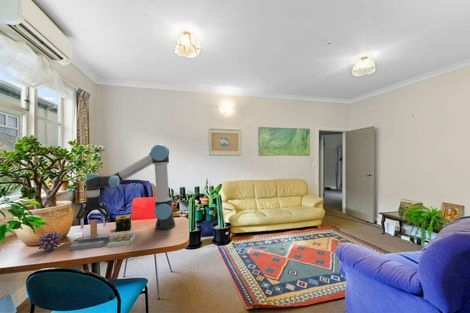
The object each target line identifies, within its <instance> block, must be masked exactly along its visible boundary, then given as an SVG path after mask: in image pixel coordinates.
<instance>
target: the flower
mask: <svg viewBox="0 0 470 313" xmlns="http://www.w3.org/2000/svg"><path fill="white" fill-rule="evenodd" d="M61 234H62V233H61V232H57V231H56V230H53V231H52V230H49V231H45V233H42V236H41V235H39V237H38V239H37V241H38V242H36V245H39V247H38V250H43V251H44V252H46V253H47V251H49V250H50V251H51V250H52V251H54V250H55V248H58V246H60V245H61V243H62V240H63V239H64V238H63V237H62V235H61Z"/></svg>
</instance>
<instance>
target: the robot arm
mask: <svg viewBox="0 0 470 313" xmlns="http://www.w3.org/2000/svg"><path fill="white" fill-rule="evenodd" d="M169 156H170V150H169V148H168V147H167V146H166V145H164V144H161V143H159V144H155V145H154V146H153V147H151V149H150V152H149V153H148V154H147V155H146V156H144V157H143V158H141V159H139V160H137V161H135V162H133V163H132V164H130V165H128V166H127V167H124V168H122V170H119V171H118V172H116V173H114V174H111V175H105V176H104V175H100V173H96V172H95V173H88V174H86V178H85V185H86V192H85V193H86V195H85V196H86V203H82V204H80V208H79V210H78V212H77V214H76V215H75V219H78V224H79V225H80V230H83V229H84V228H85V223H84V222H85V221H84V216H85V215H86V214H87V213H88V212H90V211H98V212H99V213H100V214H101V215H102V216H103V217H102V218H103V223H102V224H103V228H106V226H107V221H108V217H109V216H111V211H109V209H108V208H107V205H106V202H101V199H100V198H101V197H100V194H101V192H100V191H101V190H100V189H101V188H109V187H111V188H114V187H118V186H119V185H120V183H122V182H124V181H125V180H127V179H128V178H131V177H132V176H134V175H136V174H137V173H139V172H141V171H142V170H144V169H146V168H148V167H150V166H152V165H153V166H154V175H155V177H154V178H155V192H156V193H155V195H156V196H155V197H156V198H155V199H154V211H153V213H154V217H155V218H156V222H155V226H154V227H155V229H156V230H160V231H164V230H165V231H166V230H170V229H174V228H175V227H176V221H175V218H174V207H173V206H174V204H173V202H174V199H173V197H170V195H169V194H170V193H169V176H168V175H169V174H168V164H169V163H170V157H169ZM100 206H101V207H102V208H101V207H100ZM85 208H86V209H85ZM84 209H85V210H84ZM83 210H84V211H83ZM82 212H83V213H82Z"/></svg>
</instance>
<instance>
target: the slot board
mask: <svg viewBox="0 0 470 313" xmlns="http://www.w3.org/2000/svg"><path fill="white" fill-rule="evenodd" d="M113 242H114V237H113V238H110V235H108V234H107V235H98V236H97V237H90V236H89V237H80V238H78V239H77V243H73V244H71V245H70V246H69V251H70V252H73V251H81V250H87V249H88V250H90V249H98V248H106V247H107V244H108V243H113ZM107 248H108V247H107Z"/></svg>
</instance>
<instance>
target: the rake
mask: <svg viewBox="0 0 470 313" xmlns="http://www.w3.org/2000/svg"><path fill="white" fill-rule="evenodd" d="M89 225H90V228H89V230H90V232H89V234H90V236H89V237H97V236H99V234H98V219H91V220H90V221H89Z"/></svg>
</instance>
